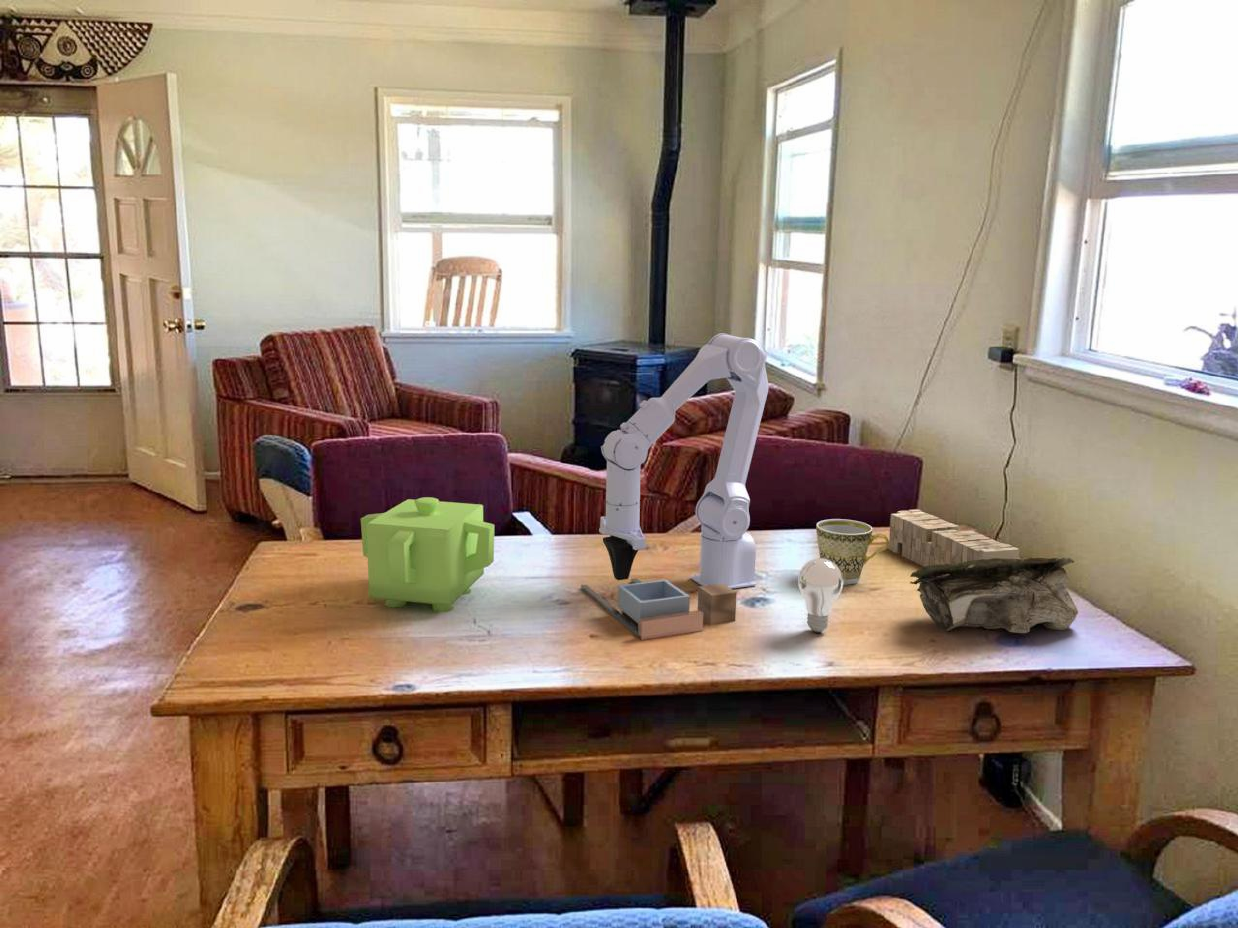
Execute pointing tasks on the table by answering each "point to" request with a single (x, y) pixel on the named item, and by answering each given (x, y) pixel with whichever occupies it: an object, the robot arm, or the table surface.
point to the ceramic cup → (846, 545)
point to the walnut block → (717, 603)
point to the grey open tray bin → (651, 599)
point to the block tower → (941, 541)
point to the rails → (654, 620)
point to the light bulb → (819, 590)
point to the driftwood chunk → (998, 594)
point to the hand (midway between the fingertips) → (621, 578)
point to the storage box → (426, 551)
